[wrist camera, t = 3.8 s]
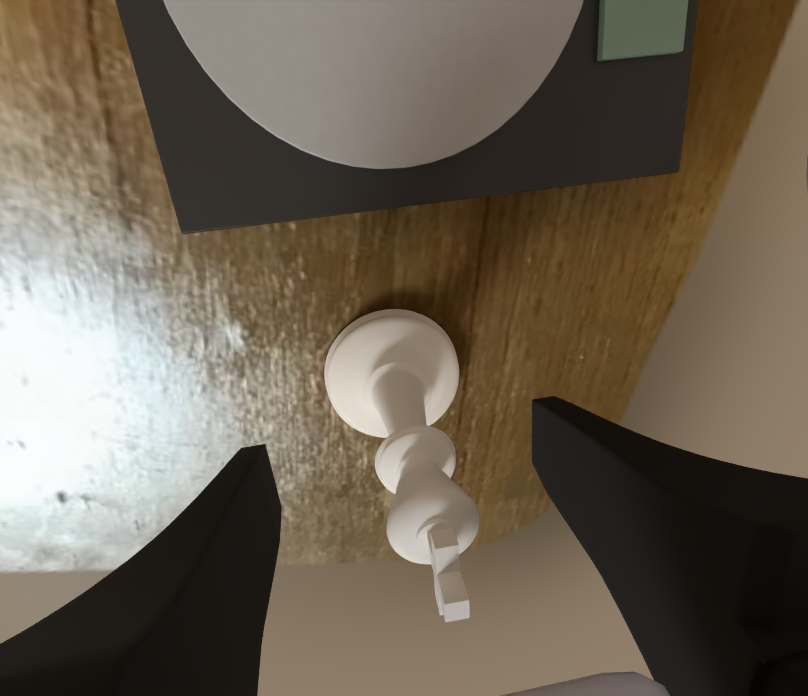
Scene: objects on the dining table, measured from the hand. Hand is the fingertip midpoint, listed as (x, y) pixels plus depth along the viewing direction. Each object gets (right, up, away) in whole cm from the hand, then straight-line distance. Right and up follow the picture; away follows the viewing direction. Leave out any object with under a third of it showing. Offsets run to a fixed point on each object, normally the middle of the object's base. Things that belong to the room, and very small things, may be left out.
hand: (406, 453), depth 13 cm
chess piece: (0, +2, +5) cm, 5 cm away
